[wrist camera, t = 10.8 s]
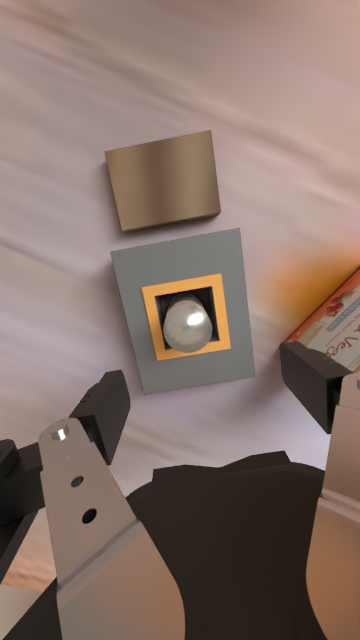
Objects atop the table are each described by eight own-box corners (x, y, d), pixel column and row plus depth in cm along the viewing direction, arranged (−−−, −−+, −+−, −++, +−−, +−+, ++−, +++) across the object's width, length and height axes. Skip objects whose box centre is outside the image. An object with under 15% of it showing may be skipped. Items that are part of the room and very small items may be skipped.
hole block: (230, 233, 25) (240, 227, 20) (244, 361, 28) (255, 377, 24) (120, 253, 25) (109, 251, 21) (149, 376, 29) (143, 395, 25)
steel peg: (199, 290, 26) (208, 302, 18) (205, 323, 27) (215, 348, 19) (165, 296, 26) (159, 310, 18) (171, 329, 27) (168, 356, 19)
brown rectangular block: (208, 138, 22) (211, 130, 21) (218, 215, 24) (220, 212, 23) (109, 158, 23) (104, 151, 21) (125, 232, 24) (122, 230, 23)
